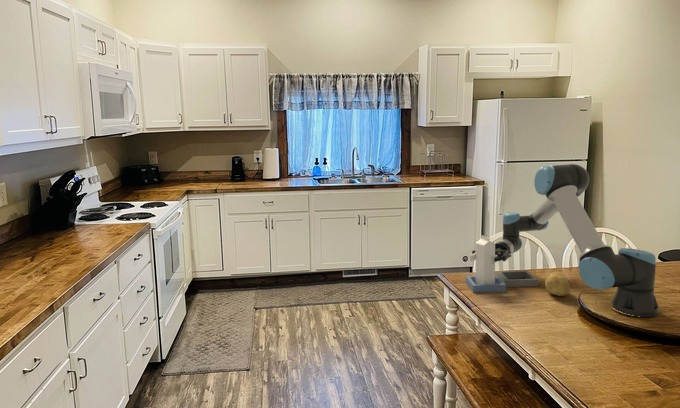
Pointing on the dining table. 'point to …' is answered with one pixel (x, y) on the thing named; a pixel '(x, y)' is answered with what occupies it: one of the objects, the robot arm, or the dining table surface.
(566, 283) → the potato
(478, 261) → the milk
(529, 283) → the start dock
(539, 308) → the dining table surface
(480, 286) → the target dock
